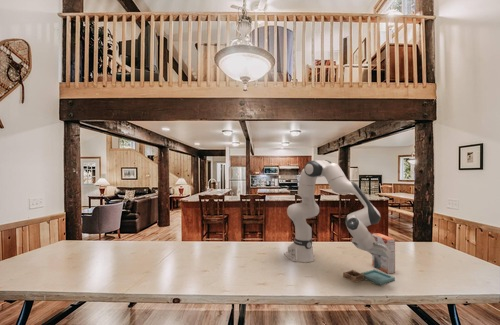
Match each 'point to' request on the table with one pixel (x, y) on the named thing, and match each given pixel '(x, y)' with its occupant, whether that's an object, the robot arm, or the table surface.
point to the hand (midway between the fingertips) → (377, 255)
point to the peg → (377, 261)
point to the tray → (378, 277)
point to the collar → (351, 275)
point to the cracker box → (386, 263)
